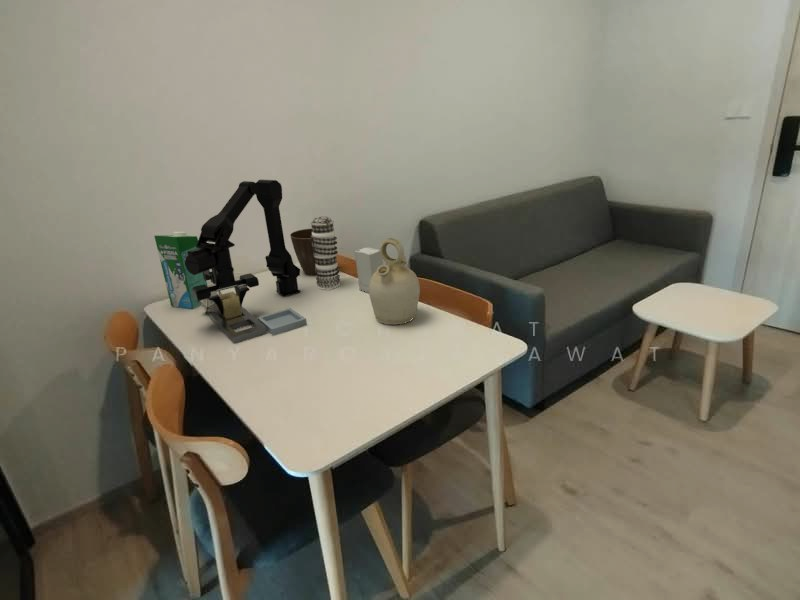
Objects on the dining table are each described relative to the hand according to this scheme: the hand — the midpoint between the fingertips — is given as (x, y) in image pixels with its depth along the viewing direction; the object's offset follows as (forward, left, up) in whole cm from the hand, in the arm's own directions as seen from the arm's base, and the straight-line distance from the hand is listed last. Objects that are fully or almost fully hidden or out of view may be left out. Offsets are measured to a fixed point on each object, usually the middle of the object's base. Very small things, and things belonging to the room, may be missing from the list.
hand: (230, 312), depth 151 cm
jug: (-40, +32, -3) cm, 51 cm away
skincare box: (-47, +8, -3) cm, 48 cm away
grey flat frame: (0, +5, -3) cm, 6 cm away
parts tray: (-11, +13, -3) cm, 17 cm away
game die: (+2, -11, -3) cm, 12 cm away
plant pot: (-41, -24, -3) cm, 48 cm away
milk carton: (+6, -25, -3) cm, 26 cm away
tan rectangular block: (0, 0, -3) cm, 3 cm away
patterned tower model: (-38, -7, -3) cm, 39 cm away
